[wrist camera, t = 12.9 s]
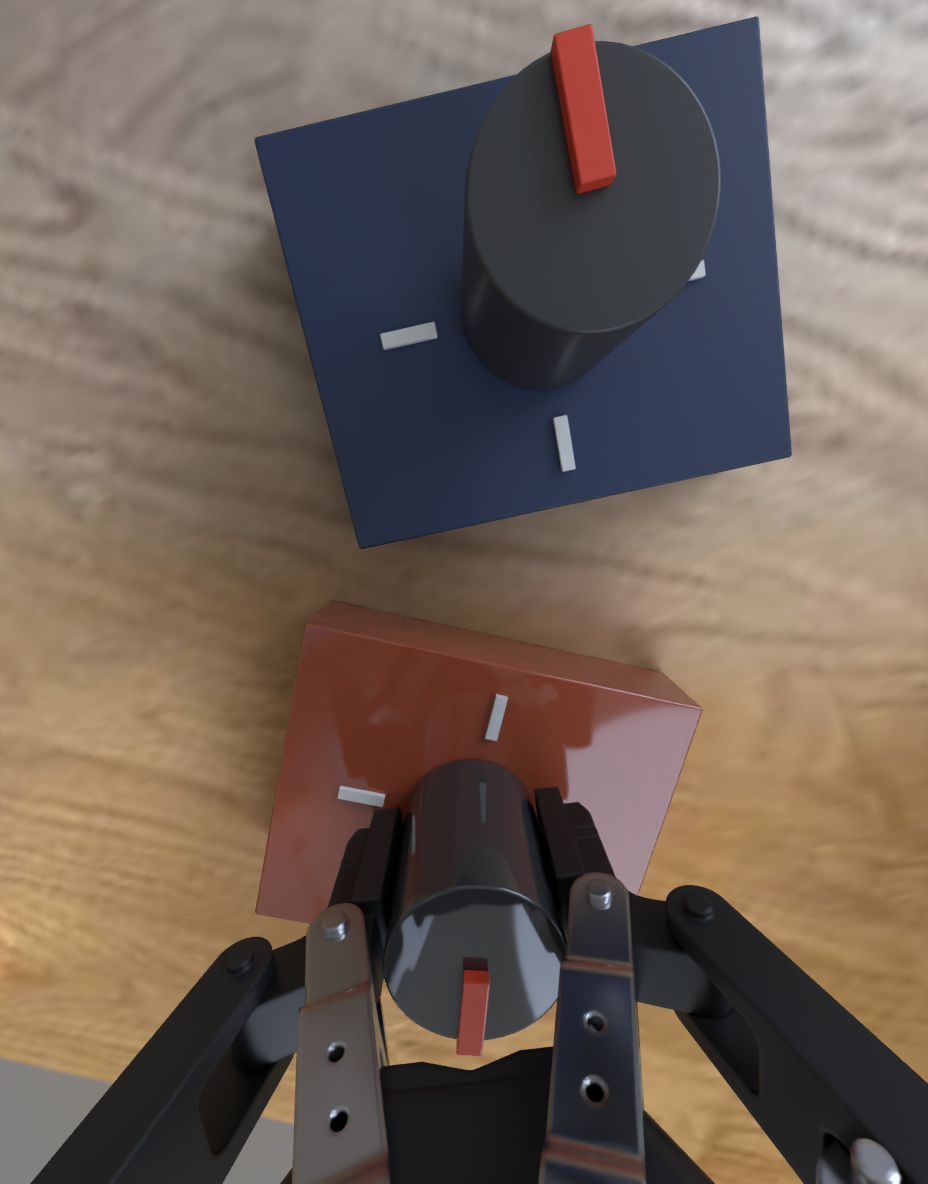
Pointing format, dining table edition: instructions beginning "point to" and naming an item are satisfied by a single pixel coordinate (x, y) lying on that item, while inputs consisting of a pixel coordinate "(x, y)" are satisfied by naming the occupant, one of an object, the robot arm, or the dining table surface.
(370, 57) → the dining table surface
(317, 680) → the dial base block
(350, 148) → the navy flat block
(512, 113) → the black rotary knob
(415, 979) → the dark grey dial knob
